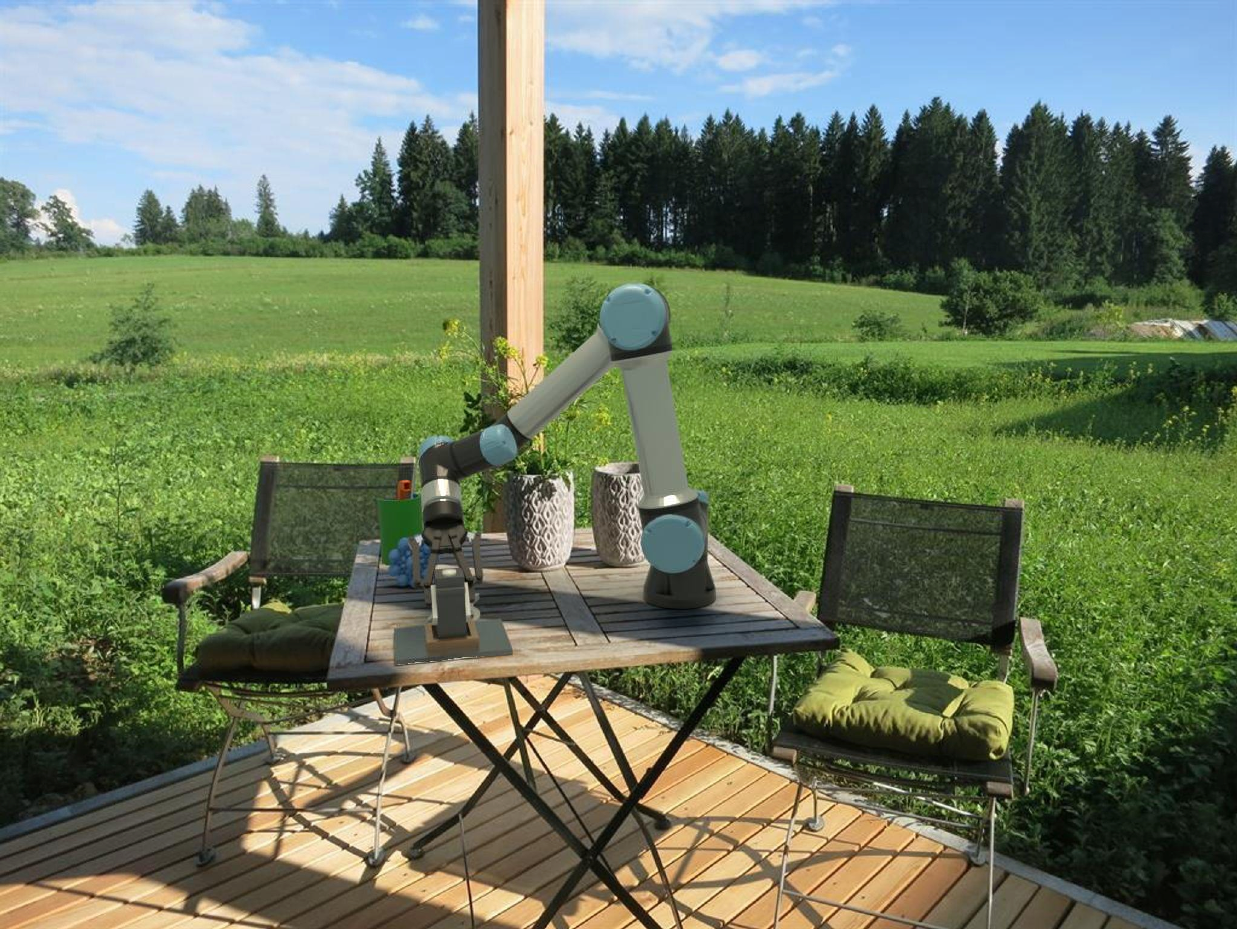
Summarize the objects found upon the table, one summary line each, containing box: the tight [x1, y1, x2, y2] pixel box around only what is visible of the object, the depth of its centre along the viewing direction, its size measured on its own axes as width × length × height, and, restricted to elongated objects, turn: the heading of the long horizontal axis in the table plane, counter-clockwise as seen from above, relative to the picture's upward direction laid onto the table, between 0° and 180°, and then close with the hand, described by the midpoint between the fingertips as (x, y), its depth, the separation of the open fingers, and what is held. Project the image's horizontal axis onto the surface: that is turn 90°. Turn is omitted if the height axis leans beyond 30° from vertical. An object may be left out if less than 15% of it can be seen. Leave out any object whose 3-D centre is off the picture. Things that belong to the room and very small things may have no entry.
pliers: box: [426, 592, 481, 623], centre depth 180 cm, size 10×2×15 cm
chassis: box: [393, 618, 514, 667], centre depth 162 cm, size 20×16×2 cm
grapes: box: [387, 534, 441, 588], centre depth 195 cm, size 12×7×12 cm, turn 86°
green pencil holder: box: [377, 479, 424, 566], centre depth 215 cm, size 10×9×20 cm
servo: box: [433, 566, 467, 639], centre depth 160 cm, size 5×8×12 cm, turn 15°
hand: (451, 619), depth 157 cm, fingers closed on servo, 5 cm apart
